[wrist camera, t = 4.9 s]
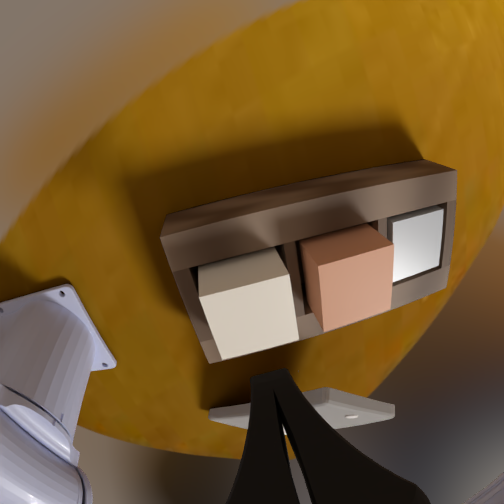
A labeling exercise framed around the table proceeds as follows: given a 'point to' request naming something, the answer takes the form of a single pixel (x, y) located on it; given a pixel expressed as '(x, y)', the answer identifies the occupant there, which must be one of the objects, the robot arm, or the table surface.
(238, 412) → the light switch
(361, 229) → the rust key
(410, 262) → the slate key
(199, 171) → the table surface
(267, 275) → the ivory key
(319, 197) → the brown slotted tray
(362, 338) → the table surface
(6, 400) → the robot arm
